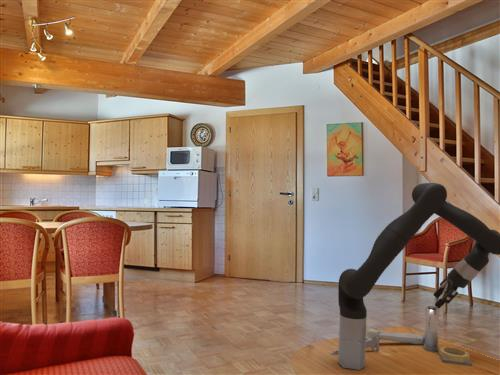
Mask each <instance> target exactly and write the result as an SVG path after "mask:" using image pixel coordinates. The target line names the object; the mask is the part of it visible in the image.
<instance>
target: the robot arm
mask: <svg viewBox="0 0 500 375" xmlns="http://www.w3.org/2000/svg"><path fill="white" fill-rule="evenodd" d="M411 198H412V200H413V205H412V206H411V207H410V208H409V209H408V210H407V211H405V212H404V213H403V214H401V215H400V216H398V217H396V218H395V219H393V220H391V222H389V223H388V224H387V226H385V228H384V229H383V230H382V231H381V232H380V233H379V235H378V236H377V237H376V239H375V241H374V244H373V246H372V248H371V251H370V252H369V255H368V257H367V258H366V260H365V261H364V262H363V263H362V264H361V265H360V267H358V269H355V268H347V269H345V270H344V271H342V272H341V273H340V276H339V279H338V286H337V287H338V293H337V294H338V298H337V300H338V308H339V326H338V327H339V328H338V333H339V334H338V349H339V354H338V357H337V358H338V359H337V360H338V361H337V363H338V364H339V365H340V366H341V368H342V369H343V368H344V369H351V370H357V371H361V369H363V368H365V366H366V348H365V347H366V335H367V317H368V316H367V307H366V305H365V301H364V297H366V296H367V295H368V294H369V293H370V292H371V290H372V289H373V288H374V286H375V285H376V283H377V282H378V281H379V278H380V277H381V276H382V274H383V273H384V272H385V271H386V269H388V267H389V266H390V265H391V264H392V262H393V261H394V260H395V259H396V258H397V257H398V255H399V254H400V253H401V252H402V251H403V249H405V247H406V246H407V245H408V244H409V242H411V240H412V239H413V237H414V236H416V234H417V233H418V232H419V230H421V228H422V227H423V225H425V223H426V222H427V221H429V219H430V218H431V217H432V216H434V214H435V215H436V216H438V217H440V218H442V219H443V220H445V221H446V222H448V223H450V224H451V225H452V226H454V227H456V228H457V229H458V230H460V232H463V233H464V234H465V235H467V236H468V237H469V238H471V239H473V240H474V241H475V243H474V245H473V247H472V250H470V252H469V253H467V255H465V257H464V258H463V259H461V260H460V261H459V262H458V263H457V264H456V265H455V266H454V267H453V268H452V269H451V270H450V271H449V272H448V274H447V276H446V277H444V279H443V280H442V281H441V282H440V283H439V286H438V288H437V290H435V291H434V292H433V296H434V297H435V298H437V301H436V302H435V303H434V307H436V308H437V309H441V308H442V307H443V306H444V305H445V304H447V305H449V304H450V303H451V302H452V301H453V300H454V299H455V298H456V296H457V295H458V294H459V292H458V288H461V289H464V288H466V287H467V286H468V285H469V284H470V283H471V282H472V281H473V280H474V279H475V278H476V277H477V276H478V274H479V273H480V272H481V271H482V270H483V269H484V268H485V267H486V266H487V265H488V264H489V262H490V261H489V260H490V259H489V254H492V255H496V256H500V232H499V231H497V230H495V229H491V228H489V226H487V224H485V223H484V221H482V220H481V219H479V218H477V217H476V216H475V215H474V214H471V213H470V212H469V211H467V210H464V209H462V208H460V207H458V206H455V205H453V204H452V203H450V202H449V201H447V198H448V191H447V189H446V187H445V186H444V185H442V184H440V183H437V182H425V183H419V184H417V185H415V187H414V188H413V189H412V191H411Z"/></svg>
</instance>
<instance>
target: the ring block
mask: <svg viewBox="0 0 500 375" xmlns="http://www.w3.org/2000/svg"><path fill="white" fill-rule="evenodd" d="M437 354H438V356H439V358H440V360H441V363H448V364H455V365H463V366H469V365H470V367H472V366H473V363H472V361H471V360H470V359H471V355H470V353H469V352H468V350H465V349H462V348H459V347H456V346H448V345H446V346H441V347H439V348H438V351H437Z"/></svg>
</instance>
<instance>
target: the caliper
mask: <svg viewBox="0 0 500 375" xmlns="http://www.w3.org/2000/svg"><path fill="white" fill-rule="evenodd" d="M372 338H373V339H369V340H366V347H365V349H368V348H371V350H372V352H376V351H377V352H380V341H379V339H378V338H377V336H376V335H375V336H374V337H373V336H372ZM374 344H375V345H376V346H375V347H374ZM329 354H330V355H331V356H332V355H339V348H337V349H334V350H333V351H332V352H330V353H329Z"/></svg>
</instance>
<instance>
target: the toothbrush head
mask: <svg viewBox="0 0 500 375" xmlns="http://www.w3.org/2000/svg"><path fill="white" fill-rule="evenodd" d="M375 335H376V336H377V338H378V339H379V342H381V340H382V341H391V342H397V343H404V344H405V343H406V344H413V345H414V346H415V345H420V346H421V345H423V346H424V335H422V334H420V333H419V334H418V333H415V332H413V333H410V332H409V333H407V332H397V331H396V332H395V331H394V332H392V331H381V330H380V331H378V330H376V329H371V328H370V329H368V330H366V340H369V339H373V338H372V336H373V337H374V336H375ZM374 347H375V348H376V345H375V344H374Z"/></svg>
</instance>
